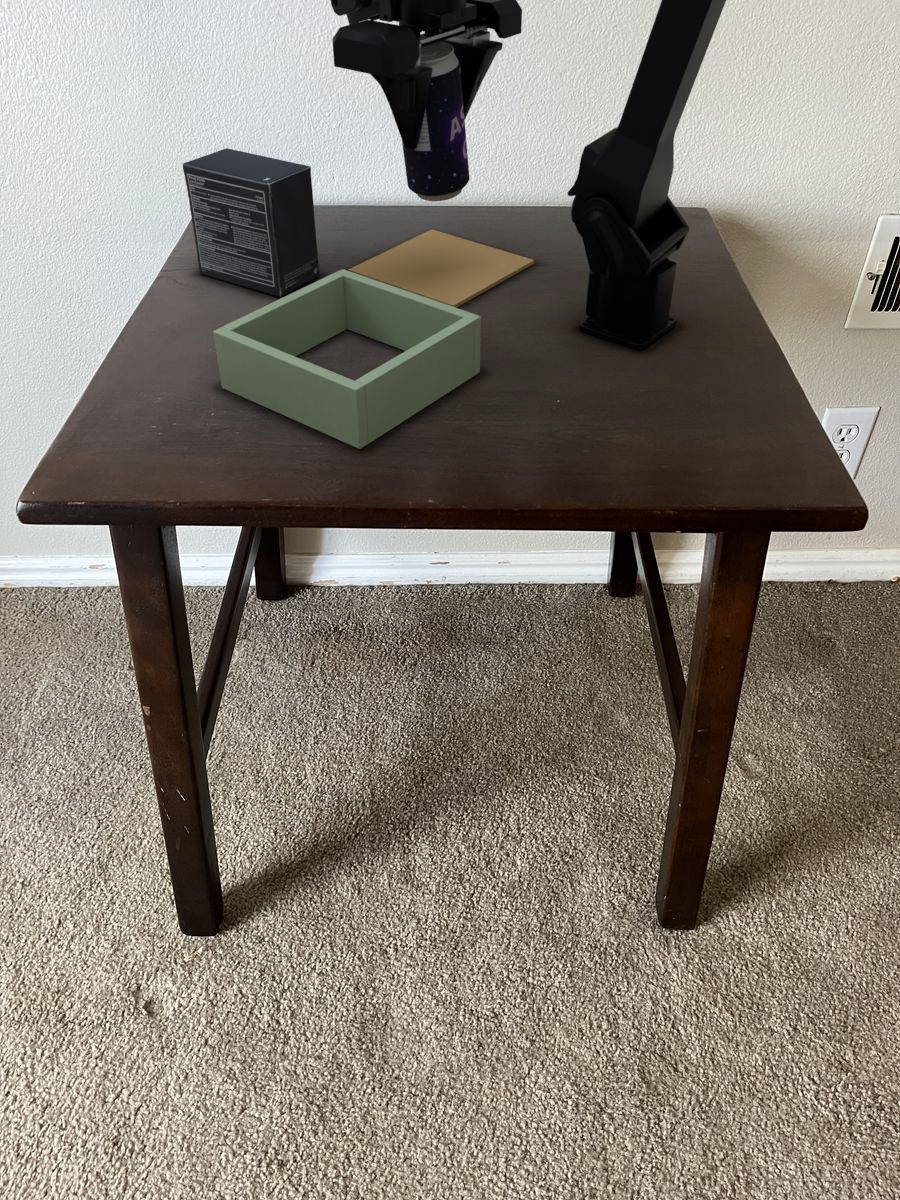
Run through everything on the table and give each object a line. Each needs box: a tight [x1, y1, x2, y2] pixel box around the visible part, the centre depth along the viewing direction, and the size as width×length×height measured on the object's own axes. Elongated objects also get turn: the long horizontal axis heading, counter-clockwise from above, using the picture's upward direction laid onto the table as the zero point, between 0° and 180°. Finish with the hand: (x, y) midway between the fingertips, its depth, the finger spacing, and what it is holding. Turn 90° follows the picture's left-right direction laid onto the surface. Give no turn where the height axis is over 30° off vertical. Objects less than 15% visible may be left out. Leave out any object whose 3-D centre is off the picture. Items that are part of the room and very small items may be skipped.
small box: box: [182, 147, 320, 298], centre depth 98 cm, size 11×6×10 cm, turn 58°
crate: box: [212, 268, 482, 450], centre depth 84 cm, size 15×15×5 cm
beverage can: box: [401, 41, 471, 202], centre depth 91 cm, size 6×6×12 cm
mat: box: [347, 229, 535, 308], centre depth 102 cm, size 13×13×1 cm
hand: (433, 139), depth 92 cm, fingers closed on beverage can, 6 cm apart
